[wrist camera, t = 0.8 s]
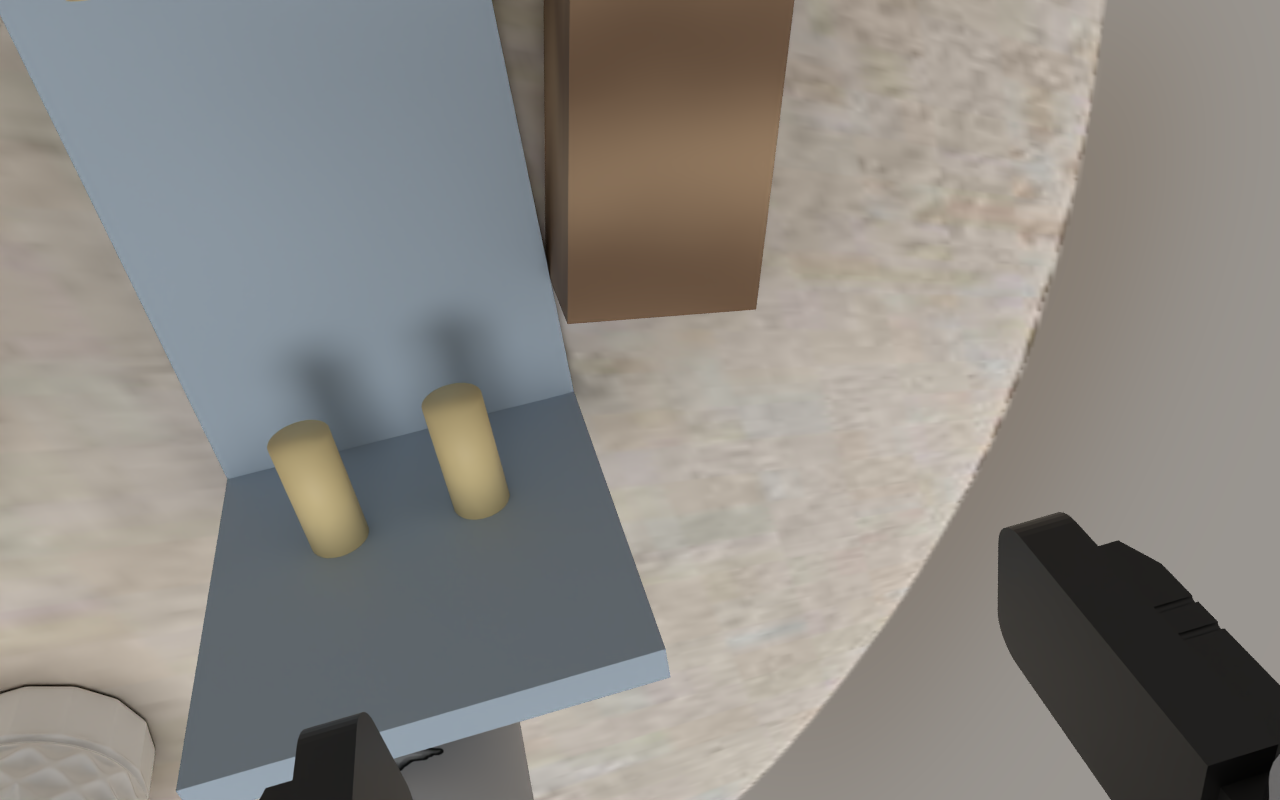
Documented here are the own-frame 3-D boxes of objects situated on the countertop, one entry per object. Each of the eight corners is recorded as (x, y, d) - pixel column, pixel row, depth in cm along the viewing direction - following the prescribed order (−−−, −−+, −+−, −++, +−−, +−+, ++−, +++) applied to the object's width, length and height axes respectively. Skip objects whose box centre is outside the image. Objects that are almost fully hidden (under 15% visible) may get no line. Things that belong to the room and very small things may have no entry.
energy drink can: (414, 445, 32) (455, 865, 20) (519, 548, 36) (609, 958, 23) (269, 541, 33) (224, 1005, 21) (386, 633, 36) (406, 1076, 24)
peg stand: (-118, -257, 20) (-562, -269, 10) (417, -339, 21) (476, -418, 12) (241, 487, 31) (194, 816, 22) (574, 403, 33) (670, 677, 23)
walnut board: (539, -349, 22) (572, -366, 19) (768, -330, 23) (836, -343, 20) (543, 262, 30) (567, 323, 27) (713, 251, 31) (755, 309, 28)
